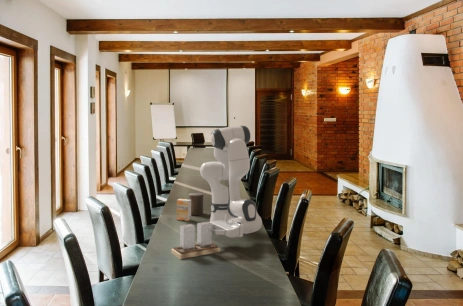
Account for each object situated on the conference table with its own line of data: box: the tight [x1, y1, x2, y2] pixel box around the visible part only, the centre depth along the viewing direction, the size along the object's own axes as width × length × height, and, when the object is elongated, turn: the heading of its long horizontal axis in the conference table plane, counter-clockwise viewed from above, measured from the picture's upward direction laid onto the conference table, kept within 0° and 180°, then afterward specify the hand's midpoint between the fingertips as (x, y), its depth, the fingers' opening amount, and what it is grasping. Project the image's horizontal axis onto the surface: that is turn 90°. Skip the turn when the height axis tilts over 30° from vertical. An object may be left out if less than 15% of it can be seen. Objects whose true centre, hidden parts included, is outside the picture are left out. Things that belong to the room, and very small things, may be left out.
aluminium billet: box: [196, 221, 213, 248], centre depth 218 cm, size 6×4×12 cm, turn 123°
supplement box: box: [176, 198, 192, 222], centre depth 278 cm, size 8×5×13 cm, turn 73°
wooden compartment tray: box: [170, 242, 221, 260], centre depth 216 cm, size 22×10×3 cm, turn 122°
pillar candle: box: [188, 192, 204, 216], centre depth 294 cm, size 10×10×15 cm
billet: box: [179, 223, 196, 251], centre depth 213 cm, size 6×4×12 cm, turn 123°
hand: (210, 230), depth 219 cm, fingers open, 8 cm apart
